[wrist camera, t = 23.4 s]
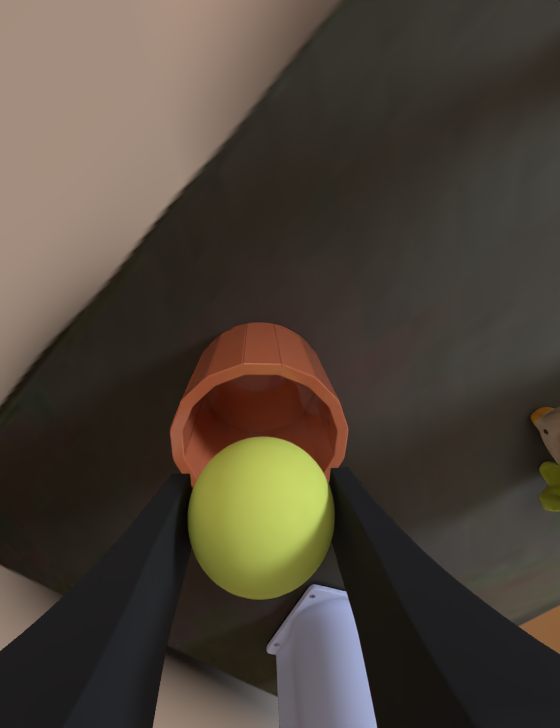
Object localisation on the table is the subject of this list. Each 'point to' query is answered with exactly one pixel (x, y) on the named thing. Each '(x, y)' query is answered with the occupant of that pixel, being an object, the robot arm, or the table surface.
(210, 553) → the ball
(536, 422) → the bird rattle
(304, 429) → the pot
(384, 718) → the robot arm
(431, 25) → the table surface
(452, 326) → the table surface
